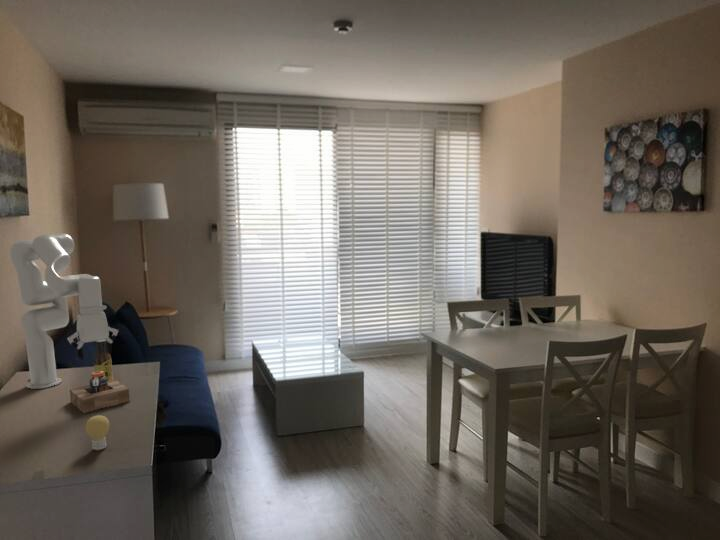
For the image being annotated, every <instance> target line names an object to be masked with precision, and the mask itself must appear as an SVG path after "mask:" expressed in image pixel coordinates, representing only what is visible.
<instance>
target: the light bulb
mask: <svg viewBox="0 0 720 540" xmlns="http://www.w3.org/2000/svg"><path fill="white" fill-rule="evenodd" d="M109 429H110V421H109V419H108V418H107V417H106V416H105V415H101V414H99V415H94V416H92V417H90V418H89V419H88V420H87V422H86V424H85V433H86V434H87V435H88V436H89V437H90V438H91V444H92V449H93V450H94V451H101V450H104V449H105V448H106V447H107V440H106V439H107V438H106V435H107V433H108V432H109Z"/></svg>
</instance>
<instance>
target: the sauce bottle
mask: <svg viewBox="0 0 720 540" xmlns="http://www.w3.org/2000/svg"><path fill="white" fill-rule="evenodd" d="M106 342H107V341H106V340H99V341H95V346H96V354H95V356H94V359H93V362H94V365H93V367H94V372H96V371H103V372H104V376H105V377H106V378H107V381H110V380H114V375H113V364H112V363H113V361H112V356H111V354H108V353H107V352H106Z"/></svg>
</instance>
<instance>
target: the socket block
mask: <svg viewBox="0 0 720 540" xmlns="http://www.w3.org/2000/svg"><path fill="white" fill-rule="evenodd" d="M107 383H108V390H106V391H102V392H98V393H93V394H91V391H90V384H88V385H83V386H79V387H74V388H70V389H69V395H70V396H69V398H70V403H71V402H72V403H73V404H74V407H75V408H77V409H78V408H79V409H80V410H81V411H82V412H83V413H82V412H81V411H80V410H79V409H78V410H79V411H80V412H81V413H82V414H85V413H84V412H87V411H91V410H95V409H99V410H101V409H100V408H103V409H106V408H105V407H107V408H109V407H110V406H111V407H113V406H118V405H122V404H126V403H130V402H131V399H130V388H128V387H127V386H125V385H124V384H122V383H121V382H120V381H118V380H116V379H114V378H113V380H110V381H107ZM125 402H126V403H125ZM121 403H122V404H121ZM73 404H72V405H73ZM95 411H96V410H95ZM91 412H92V411H91ZM87 413H88V412H87Z"/></svg>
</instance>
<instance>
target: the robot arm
mask: <svg viewBox="0 0 720 540" xmlns="http://www.w3.org/2000/svg"><path fill="white" fill-rule="evenodd" d="M74 250H75V242H74V239H73V238H72V236H71V235H69V234H67V233H63V232H62V233H51V234H48V233H47V234H40V235H38V236H36V237H35V238H32V239H22V240H18V241H15V242H13V243H12V244H11V246H10V249H9V256H10V261H11V263H12V265H13V267H14V269H15V272H16V273H17V279H18V286H19V290H20V297H21V300H22V303H23V304H24V305H25V306H28V307H34V306H35V307H36V306H43V305H46V304H47V305H48V304H50V305H51V306H47V307H40V308H34V309H30V310H27V311H25V312H24V313H23V314H22V315H21V317H20V324H21V328H22V329H23V334H24V337H25V338H24V339H25V343H26V351H27V352H26V353H27V362H28V370H29V377H30V378H29V379H30V381H29V382H27V384H26V388H27V389H29V388H30V389H29V390H39V389H40V390H41V389H47V388H52V387H54V385H55V386H57V385H59V384H61V383H60V382H62V378H61V377H59V376H58V375H57V364H56V358H55V348H54V341H53V338H51V336H50V335H49V334H47V332H48V331H51V330H56V329H61V328H65V327H67V326H68V324H69V322H70V316H69V315H70V314H69V307H68V302H67V298H68V297H74V296H78V305H79V307H78V308H79V314H77V315H76V316H77V317H76V318H77V319H76V332H74V333H72V334H71V335H69V336H68V337H67V338H66V339H67V341H68V342H69V344H70V345H72V346H73V347H74V348H76V357H77V358H78V359H80V360H81V361H82V360H84V353H83V350H84V349H83V348H82V347H83V346H84V344H86V343H93V342H96V341H99V340H106V341H107V342H106V352H107V353H108V354H110V355H111V354H112V352H113V343H114V341H115V339H116V338H117V336H118V333H119V329H116V328H113V327H110V326H109V324H108V320H107V315H106V313H105V312H104V310H107V308H108V307H107V305H104V304H103V297H102V288H101V286H102V284H101V278H100V277H99V276H96V275H91V274H88V273H80V274H72V275H65V276H60V275H59V274H60V273H62V272H64V271H66V269H68V267H69V266H70V265H71V262H72V260H71V259H72V258H71V256H70V254H72V253H73V251H74ZM41 260H42V262H43V263H44V265H45V266H46V268H45V269H44V278H43V273H42V269H41V268H40V267H39V266H38V264H36V263H35V262H34V261H41ZM110 332H111V333H112V334H111V335H110ZM74 339H77V342H75V341H74ZM51 386H52V387H51Z"/></svg>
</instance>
